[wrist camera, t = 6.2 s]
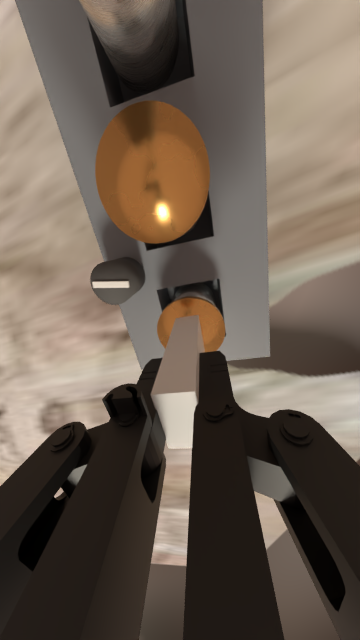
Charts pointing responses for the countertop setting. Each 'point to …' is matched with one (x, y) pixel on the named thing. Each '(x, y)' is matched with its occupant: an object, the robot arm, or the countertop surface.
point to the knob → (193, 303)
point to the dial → (117, 280)
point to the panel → (221, 144)
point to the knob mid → (152, 172)
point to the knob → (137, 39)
